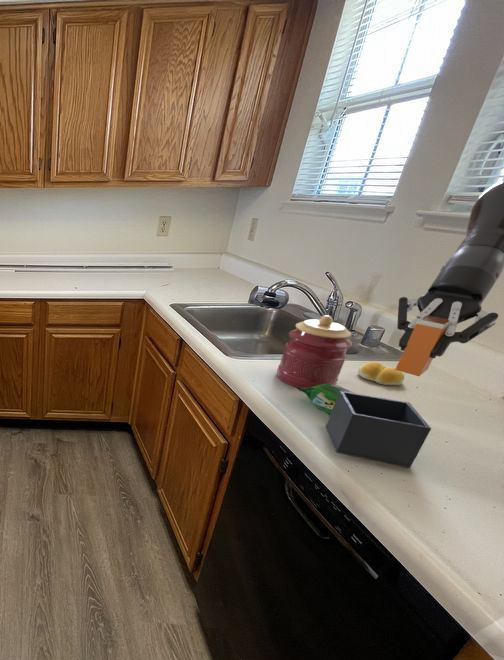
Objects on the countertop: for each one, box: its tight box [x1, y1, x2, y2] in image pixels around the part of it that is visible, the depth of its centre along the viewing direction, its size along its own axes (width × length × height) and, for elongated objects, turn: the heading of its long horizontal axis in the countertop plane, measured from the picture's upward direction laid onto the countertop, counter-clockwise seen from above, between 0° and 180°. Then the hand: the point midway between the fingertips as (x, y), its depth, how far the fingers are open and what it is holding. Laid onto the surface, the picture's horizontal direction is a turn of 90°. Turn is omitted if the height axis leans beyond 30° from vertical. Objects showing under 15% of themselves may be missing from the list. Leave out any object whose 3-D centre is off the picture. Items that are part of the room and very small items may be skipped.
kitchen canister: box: [276, 314, 353, 389], centre depth 104 cm, size 13×13×18 cm
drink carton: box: [395, 315, 451, 377], centre depth 77 cm, size 4×5×10 cm
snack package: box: [298, 384, 357, 415], centre depth 93 cm, size 7×16×5 cm, turn 21°
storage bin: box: [325, 391, 432, 469], centre depth 81 cm, size 11×10×9 cm
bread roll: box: [357, 361, 405, 386], centre depth 109 cm, size 8×9×4 cm
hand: (417, 351), depth 76 cm, fingers closed on drink carton, 3 cm apart
